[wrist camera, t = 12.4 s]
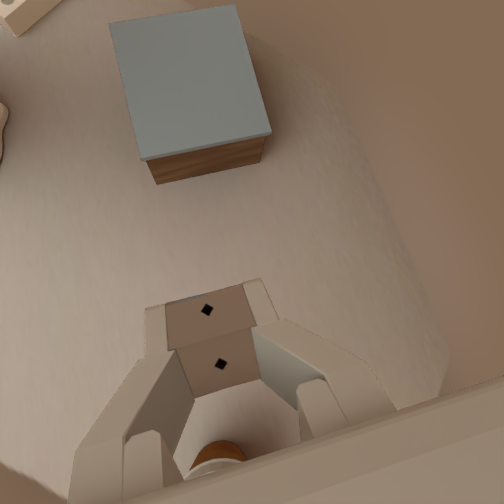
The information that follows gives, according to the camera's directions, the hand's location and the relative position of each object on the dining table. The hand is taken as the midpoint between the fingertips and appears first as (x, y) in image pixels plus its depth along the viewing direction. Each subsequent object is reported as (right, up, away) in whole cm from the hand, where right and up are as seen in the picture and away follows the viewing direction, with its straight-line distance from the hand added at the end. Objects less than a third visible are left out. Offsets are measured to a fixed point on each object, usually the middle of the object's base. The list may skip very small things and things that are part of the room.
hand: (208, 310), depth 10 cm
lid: (-6, +21, +33) cm, 40 cm away
